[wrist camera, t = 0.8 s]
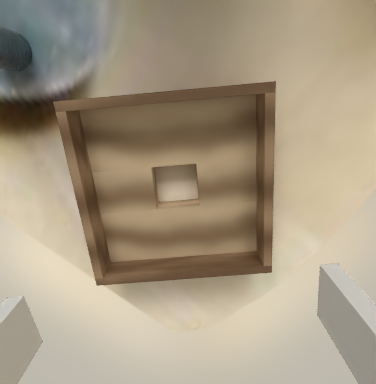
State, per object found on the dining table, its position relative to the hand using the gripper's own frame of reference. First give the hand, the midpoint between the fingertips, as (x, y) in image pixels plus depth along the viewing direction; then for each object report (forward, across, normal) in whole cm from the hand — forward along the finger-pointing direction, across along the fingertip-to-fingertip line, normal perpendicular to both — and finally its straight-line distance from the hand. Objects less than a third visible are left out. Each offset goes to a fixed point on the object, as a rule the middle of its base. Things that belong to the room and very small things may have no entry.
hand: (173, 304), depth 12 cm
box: (+24, -1, -2) cm, 24 cm away
